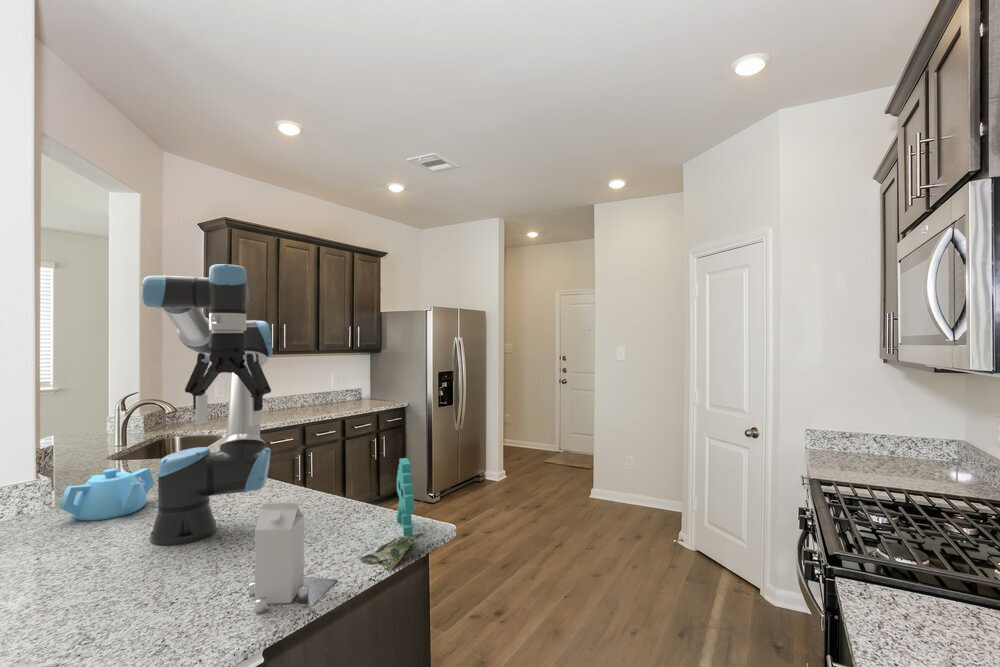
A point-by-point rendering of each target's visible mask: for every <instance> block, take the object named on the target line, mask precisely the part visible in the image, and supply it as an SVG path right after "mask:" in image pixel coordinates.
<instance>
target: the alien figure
mask: <svg viewBox="0 0 1000 667" xmlns="http://www.w3.org/2000/svg"><path fill="white" fill-rule="evenodd" d="M398 460H399V461H398V462H399V464H398V469H397V475H396V492H397V496H398V499H399V502H398V507H397V512H396V522H397V523H402V534H403V536H409V535H414V533H413V524H412V514H414V513H415V496H414V492H413V487H414V485H413V482H412V472H411V462H410V461H409V458H408V457H403V458H399V459H398ZM411 546H415V541H414V542H413V543H412V544H411V545H410V547H411Z"/></svg>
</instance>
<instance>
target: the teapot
mask: <svg viewBox="0 0 1000 667" xmlns="http://www.w3.org/2000/svg"><path fill="white" fill-rule="evenodd" d="M102 473H103V474H93V475H91V476H89V478H88V479H87V481H86V482H85V483H84V484H83V485H70V486H69V485H67V486H66V488H65V490H64V494H63V496H62V498H61V501H60V503H59V506H58V509H60V510H62V511H65V512H66V513H69V514H71V515H72V517H73V518H74V519H76V520H78V521H79V520H80V521H103V520H108V519H115V518H120V517H123V516H127V515H131V514H134V513H137V512H138V511H139V510H141V509H142V508H143V507H144V506H145V505H146V503H147V500H148V498H147V494H148V493H149V491H150V490H151V489H153V487H154V485H156V484H155V483H156V482H155V481H154V478H153V475H152V473H151V470H150V468H147V467H143V468H140V469H139V470H136V471H134V472H132V473H131V472H126V471H123V472H122V471H121V472H119V469H118V468H108V469H105V470H103V471H102ZM139 478H140V480H141V481H140V480H139ZM77 492H78V493H77Z"/></svg>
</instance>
